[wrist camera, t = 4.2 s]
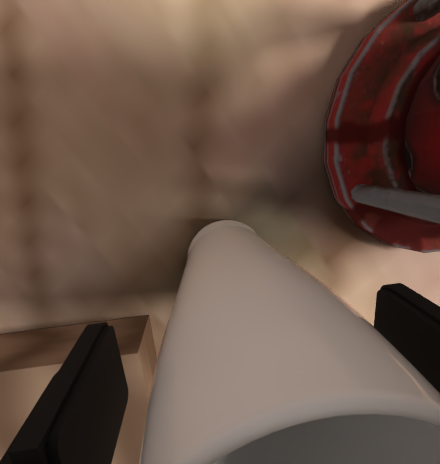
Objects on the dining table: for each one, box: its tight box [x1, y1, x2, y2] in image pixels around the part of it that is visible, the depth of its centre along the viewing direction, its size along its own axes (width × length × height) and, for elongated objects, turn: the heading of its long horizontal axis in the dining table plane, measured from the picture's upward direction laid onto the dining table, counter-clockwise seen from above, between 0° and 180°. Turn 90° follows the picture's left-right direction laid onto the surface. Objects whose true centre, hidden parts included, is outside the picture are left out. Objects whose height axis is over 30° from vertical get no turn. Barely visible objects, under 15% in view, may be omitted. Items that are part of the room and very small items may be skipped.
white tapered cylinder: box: [139, 220, 440, 464], centre depth 12 cm, size 7×7×15 cm
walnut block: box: [0, 315, 157, 464], centre depth 19 cm, size 16×16×4 cm
